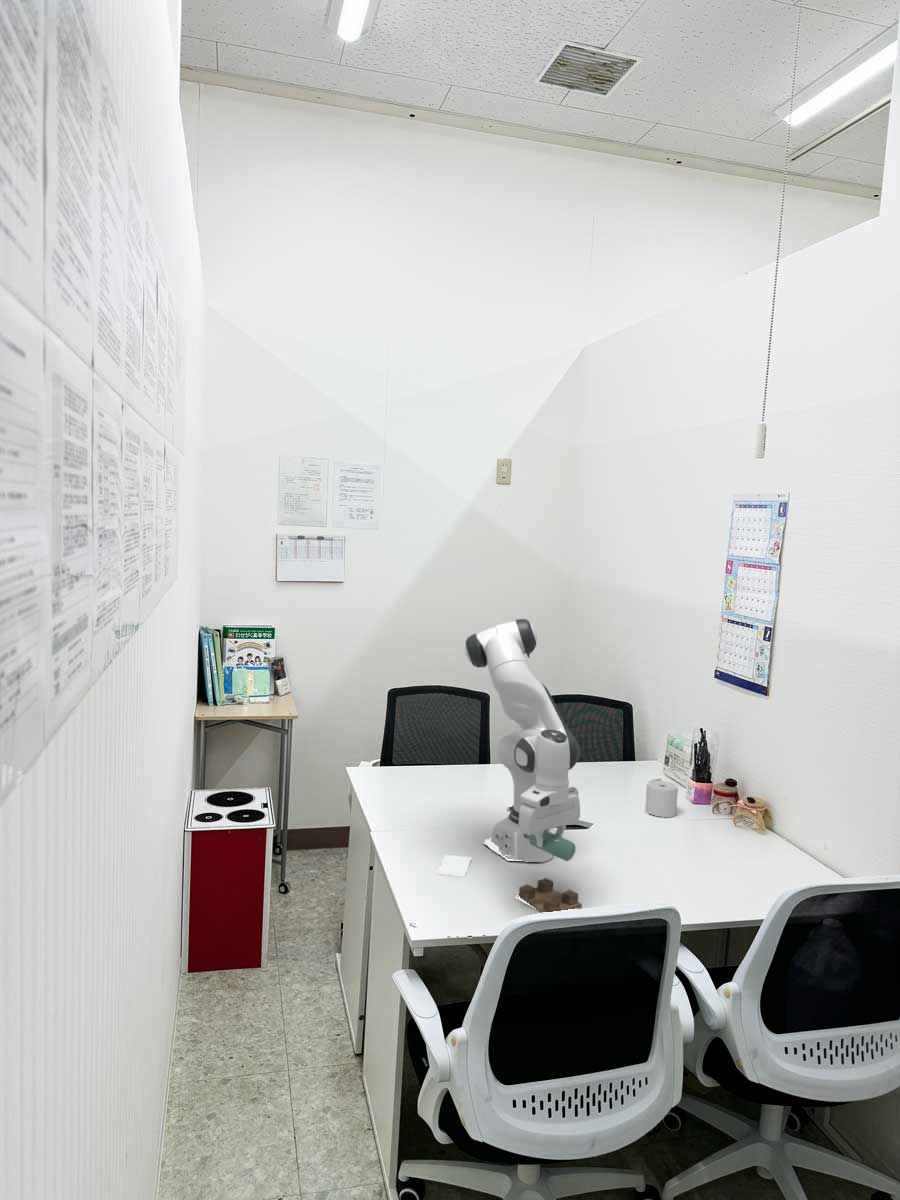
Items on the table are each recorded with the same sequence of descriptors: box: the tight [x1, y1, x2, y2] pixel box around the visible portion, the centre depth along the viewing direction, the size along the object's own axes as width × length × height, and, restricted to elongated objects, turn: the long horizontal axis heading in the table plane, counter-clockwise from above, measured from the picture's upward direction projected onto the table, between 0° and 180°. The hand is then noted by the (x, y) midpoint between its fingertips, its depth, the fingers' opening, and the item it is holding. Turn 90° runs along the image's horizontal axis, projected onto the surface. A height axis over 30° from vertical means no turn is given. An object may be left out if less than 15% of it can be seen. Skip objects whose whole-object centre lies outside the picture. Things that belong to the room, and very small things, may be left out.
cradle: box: [518, 877, 583, 913], centre depth 223 cm, size 14×11×4 cm
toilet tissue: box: [645, 778, 679, 818], centre depth 296 cm, size 11×12×10 cm
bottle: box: [523, 831, 576, 862], centre depth 223 cm, size 15×5×5 cm, turn 39°
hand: (549, 843), depth 222 cm, fingers closed on bottle, 5 cm apart
